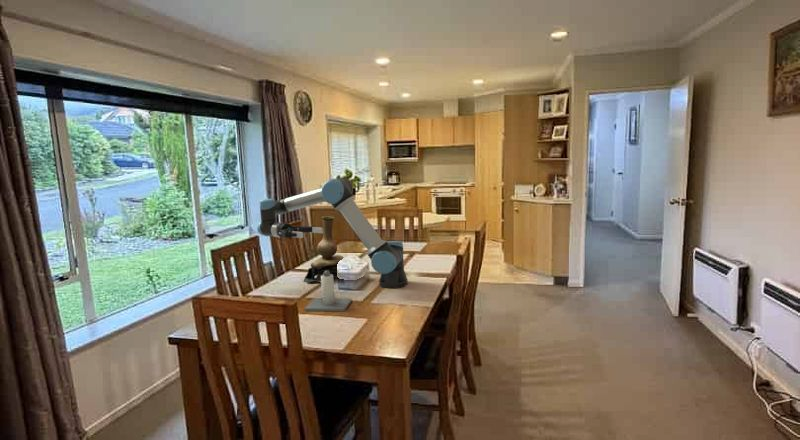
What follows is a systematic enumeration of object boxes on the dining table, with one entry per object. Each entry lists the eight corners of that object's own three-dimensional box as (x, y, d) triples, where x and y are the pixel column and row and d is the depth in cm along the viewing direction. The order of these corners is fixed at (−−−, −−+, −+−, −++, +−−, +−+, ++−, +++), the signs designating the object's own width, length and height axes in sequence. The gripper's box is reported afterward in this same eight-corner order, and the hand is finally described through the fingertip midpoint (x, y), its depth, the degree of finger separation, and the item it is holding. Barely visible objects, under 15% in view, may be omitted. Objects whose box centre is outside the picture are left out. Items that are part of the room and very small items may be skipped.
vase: (342, 282, 232) (338, 219, 227) (301, 284, 232) (296, 220, 227) (347, 271, 255) (344, 213, 250) (310, 272, 255) (306, 215, 250)
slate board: (351, 300, 201) (351, 298, 201) (344, 311, 187) (343, 308, 187) (315, 300, 204) (315, 298, 203) (304, 310, 190) (304, 308, 190)
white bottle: (336, 301, 198) (334, 269, 196) (332, 305, 192) (330, 272, 190) (324, 301, 198) (322, 269, 196) (320, 305, 193) (318, 272, 191)
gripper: (300, 233, 227) (330, 236, 216) (263, 241, 206) (293, 245, 195) (299, 219, 226) (329, 221, 215) (261, 226, 205) (292, 229, 194)
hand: (312, 232), depth 205 cm, fingers open, 13 cm apart
